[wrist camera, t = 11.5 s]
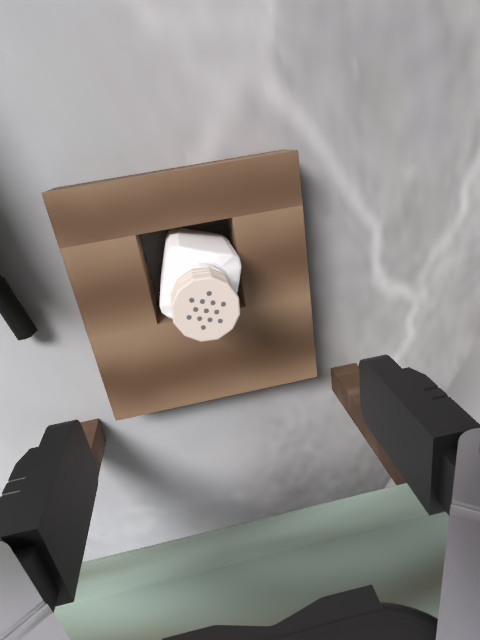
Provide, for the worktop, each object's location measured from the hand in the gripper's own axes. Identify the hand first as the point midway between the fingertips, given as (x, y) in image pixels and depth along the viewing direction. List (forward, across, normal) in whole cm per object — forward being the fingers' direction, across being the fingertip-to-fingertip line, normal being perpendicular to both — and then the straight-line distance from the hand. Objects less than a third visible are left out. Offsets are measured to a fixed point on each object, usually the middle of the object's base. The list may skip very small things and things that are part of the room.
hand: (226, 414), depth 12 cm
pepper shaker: (+18, 0, 0) cm, 18 cm away
